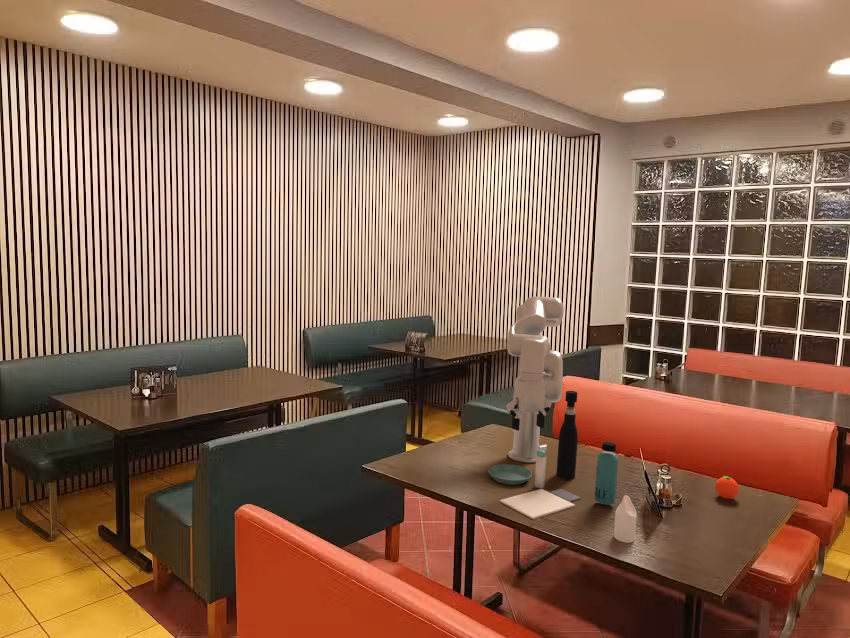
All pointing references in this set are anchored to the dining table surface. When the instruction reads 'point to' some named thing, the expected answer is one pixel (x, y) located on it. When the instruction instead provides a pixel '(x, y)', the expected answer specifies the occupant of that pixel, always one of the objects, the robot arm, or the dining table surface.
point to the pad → (537, 503)
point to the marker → (540, 469)
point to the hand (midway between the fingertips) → (527, 428)
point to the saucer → (509, 474)
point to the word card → (565, 495)
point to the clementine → (726, 487)
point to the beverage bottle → (606, 475)
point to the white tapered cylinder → (625, 521)
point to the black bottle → (568, 440)
